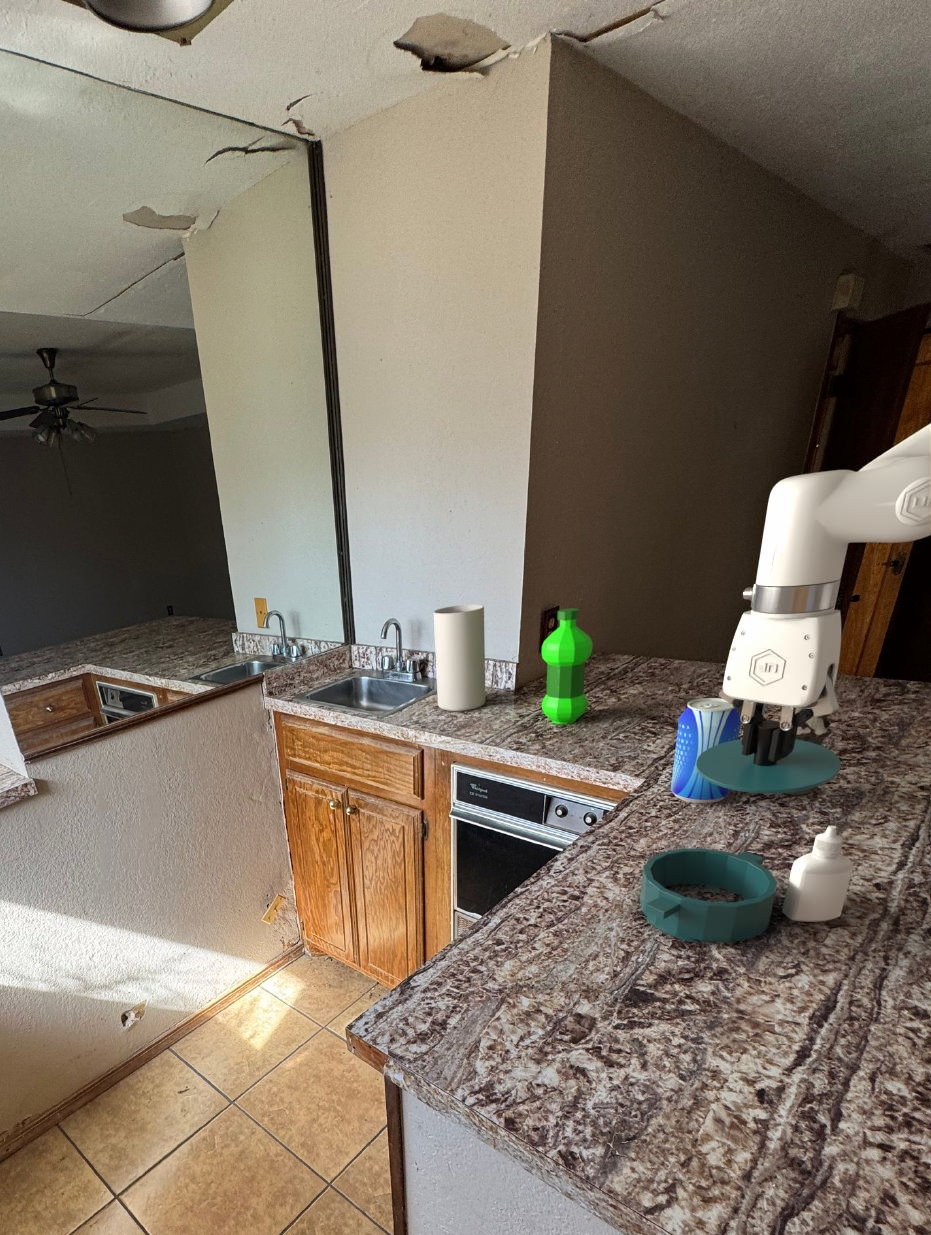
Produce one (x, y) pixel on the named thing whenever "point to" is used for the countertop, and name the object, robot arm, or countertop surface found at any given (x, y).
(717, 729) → the beer can
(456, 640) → the cylinder vase
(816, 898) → the eye dropper bottle
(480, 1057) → the countertop surface
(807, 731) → the sundae
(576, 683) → the plastic bottle
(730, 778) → the lid
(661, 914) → the pot
